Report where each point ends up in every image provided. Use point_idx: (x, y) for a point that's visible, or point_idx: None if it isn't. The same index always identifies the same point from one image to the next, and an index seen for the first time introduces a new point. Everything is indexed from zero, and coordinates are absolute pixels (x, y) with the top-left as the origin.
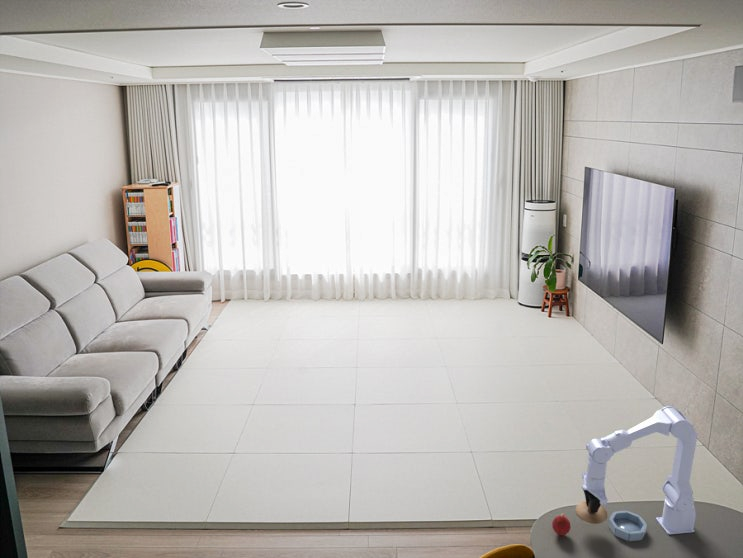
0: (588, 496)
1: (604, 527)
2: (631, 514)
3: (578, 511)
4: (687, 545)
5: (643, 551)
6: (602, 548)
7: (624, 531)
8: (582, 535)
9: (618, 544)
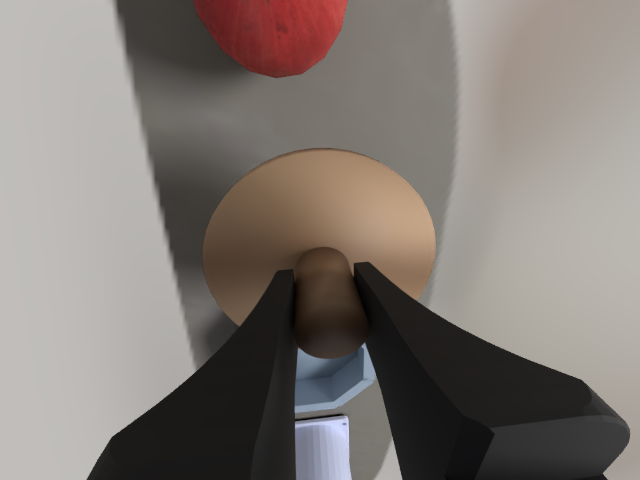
0: (190, 468)
1: None
2: (350, 388)
3: (328, 171)
4: None
5: (192, 355)
6: (184, 227)
7: None
8: None
9: None
